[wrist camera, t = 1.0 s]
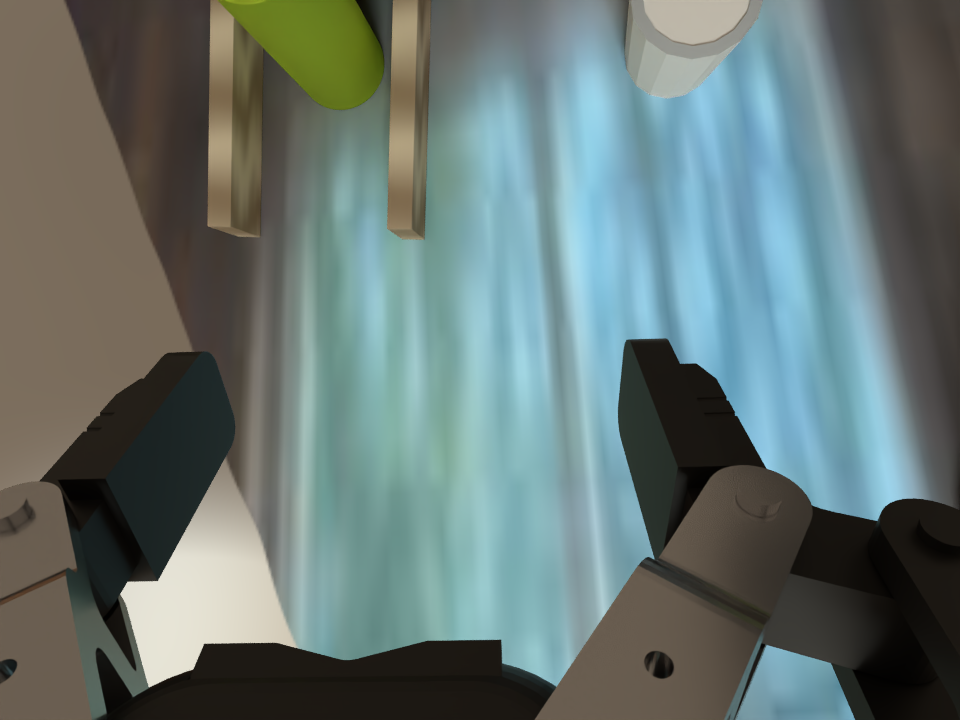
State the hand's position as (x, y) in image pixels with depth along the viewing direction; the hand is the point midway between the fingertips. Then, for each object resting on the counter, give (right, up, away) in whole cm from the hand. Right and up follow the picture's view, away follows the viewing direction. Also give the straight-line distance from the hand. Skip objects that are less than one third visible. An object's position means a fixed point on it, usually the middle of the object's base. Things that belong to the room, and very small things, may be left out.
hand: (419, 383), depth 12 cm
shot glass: (+13, +20, +27) cm, 36 cm away
